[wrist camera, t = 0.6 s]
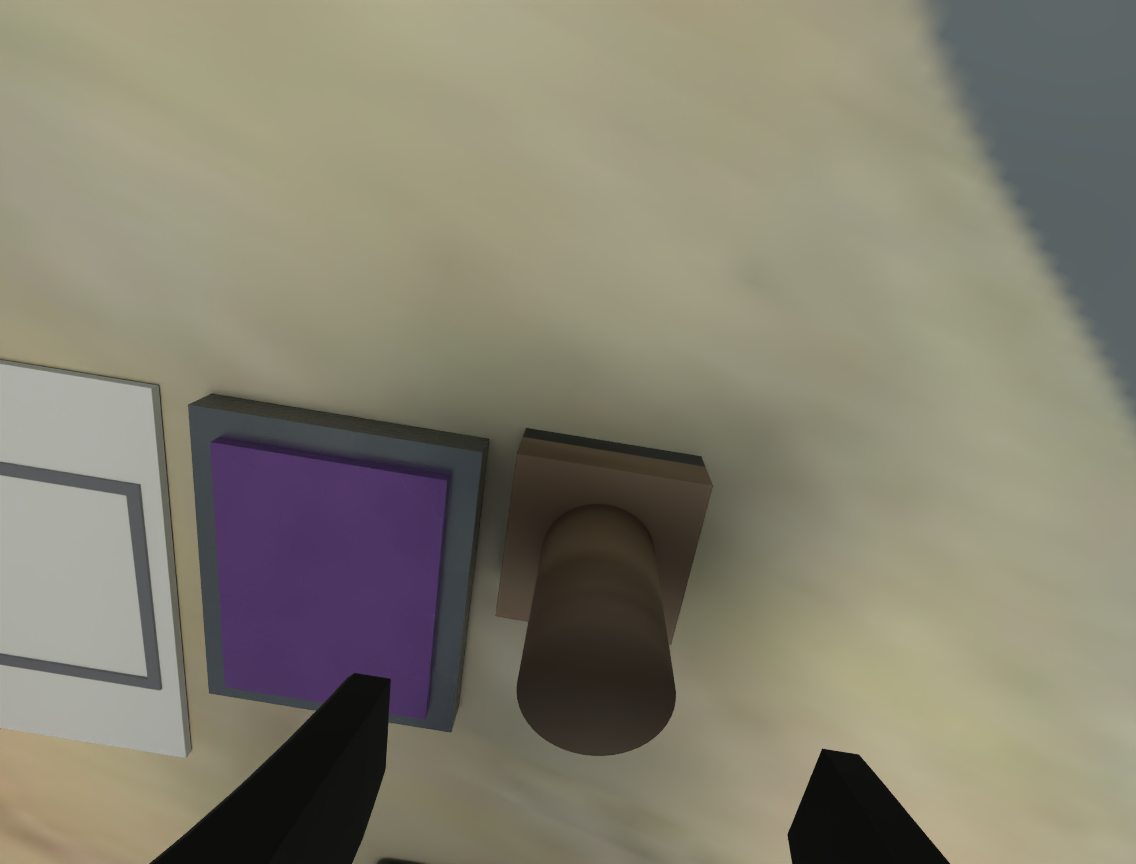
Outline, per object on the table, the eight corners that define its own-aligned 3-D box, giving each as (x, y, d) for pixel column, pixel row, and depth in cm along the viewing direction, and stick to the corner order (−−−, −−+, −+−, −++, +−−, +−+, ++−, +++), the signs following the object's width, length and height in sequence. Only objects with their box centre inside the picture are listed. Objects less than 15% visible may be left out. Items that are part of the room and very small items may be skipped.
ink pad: (458, 708, 21) (448, 742, 19) (226, 671, 21) (201, 702, 19) (489, 439, 17) (479, 458, 16) (210, 393, 17) (178, 409, 16)
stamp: (664, 601, 19) (696, 810, 12) (506, 575, 19) (453, 771, 12) (700, 455, 17) (761, 608, 11) (526, 427, 17) (478, 561, 11)
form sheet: (191, 750, 22) (184, 760, 22) (-53, 711, 22) (-65, 720, 22) (158, 385, 17) (148, 389, 17) (-155, 334, 17) (-172, 337, 17)
